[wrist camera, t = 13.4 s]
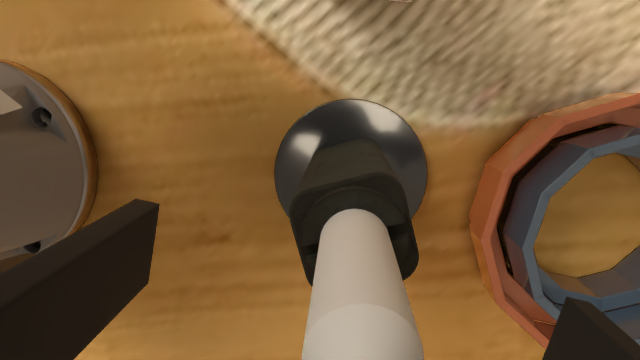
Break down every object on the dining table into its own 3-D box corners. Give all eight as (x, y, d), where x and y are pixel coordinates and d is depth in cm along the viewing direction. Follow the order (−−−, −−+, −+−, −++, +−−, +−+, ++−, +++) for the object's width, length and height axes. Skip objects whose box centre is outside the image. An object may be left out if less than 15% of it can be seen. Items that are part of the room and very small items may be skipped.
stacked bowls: (436, 292, 34) (458, 340, 27) (504, 72, 30) (547, 68, 24) (650, 341, 33) (722, 400, 27) (744, 126, 30) (853, 137, 23)
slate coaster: (262, 227, 33) (261, 230, 33) (291, 83, 31) (290, 83, 30) (403, 260, 33) (404, 263, 33) (444, 117, 31) (446, 118, 30)
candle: (392, 201, 32) (559, 596, 7) (324, 218, 32) (264, 637, 8) (376, 133, 31) (504, 321, 6) (306, 151, 31) (171, 388, 7)
